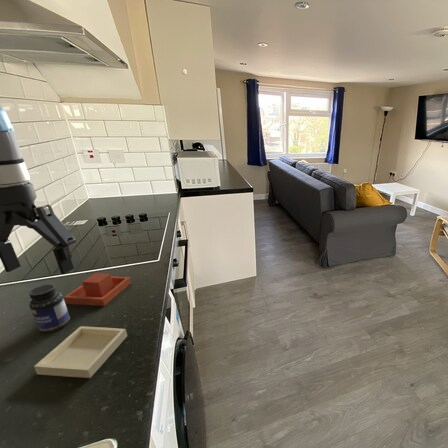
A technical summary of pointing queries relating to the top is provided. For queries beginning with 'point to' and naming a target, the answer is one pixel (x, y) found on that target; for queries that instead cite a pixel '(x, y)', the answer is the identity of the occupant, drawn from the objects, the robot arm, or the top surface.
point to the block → (98, 284)
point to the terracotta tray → (80, 296)
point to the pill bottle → (48, 308)
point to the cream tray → (81, 352)
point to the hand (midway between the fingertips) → (40, 270)
